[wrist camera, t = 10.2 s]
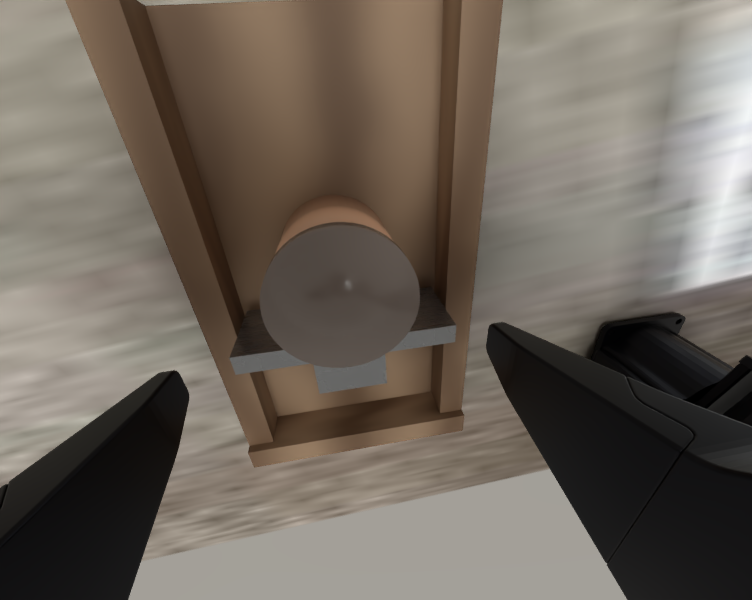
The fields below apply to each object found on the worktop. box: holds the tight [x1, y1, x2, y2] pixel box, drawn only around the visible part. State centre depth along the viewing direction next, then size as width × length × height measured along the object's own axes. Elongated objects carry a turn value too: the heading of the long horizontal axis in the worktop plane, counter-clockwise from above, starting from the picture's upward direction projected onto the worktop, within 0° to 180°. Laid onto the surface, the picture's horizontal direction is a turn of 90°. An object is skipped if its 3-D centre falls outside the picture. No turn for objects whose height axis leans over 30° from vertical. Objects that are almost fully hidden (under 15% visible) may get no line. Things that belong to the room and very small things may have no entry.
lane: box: [66, 0, 503, 467], centre depth 17 cm, size 14×23×4 cm, turn 4°
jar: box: [260, 195, 420, 368], centre depth 14 cm, size 6×6×6 cm
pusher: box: [229, 287, 456, 394], centre depth 18 cm, size 10×5×4 cm, turn 94°
